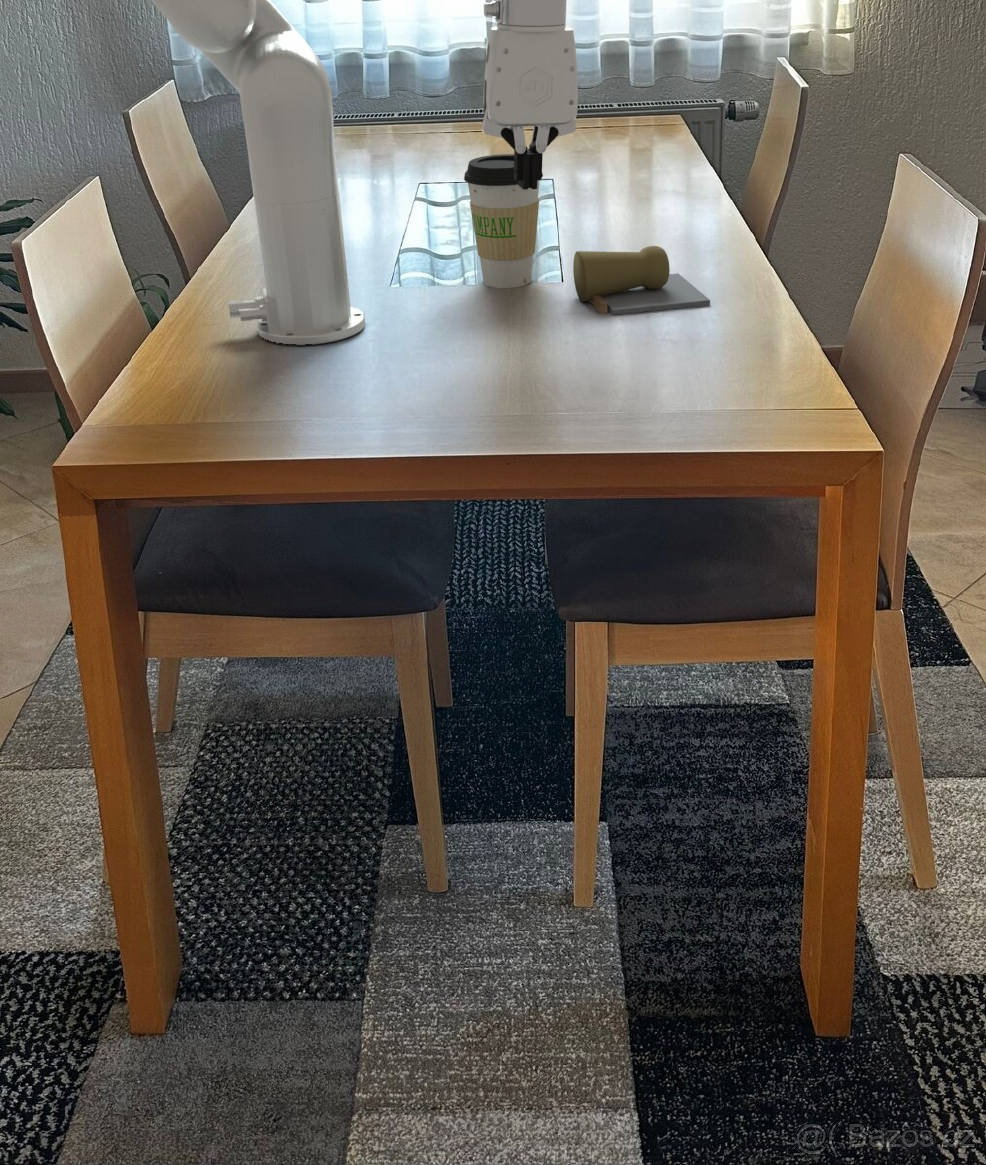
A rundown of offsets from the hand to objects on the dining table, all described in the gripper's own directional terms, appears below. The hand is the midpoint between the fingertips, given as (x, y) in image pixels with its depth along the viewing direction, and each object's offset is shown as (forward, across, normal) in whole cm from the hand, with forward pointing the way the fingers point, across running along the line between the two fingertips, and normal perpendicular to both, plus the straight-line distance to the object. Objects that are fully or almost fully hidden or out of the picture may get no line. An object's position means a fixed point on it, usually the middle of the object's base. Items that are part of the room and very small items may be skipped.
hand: (527, 186), depth 149 cm
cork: (+11, +7, +1) cm, 13 cm away
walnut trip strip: (+14, +8, 0) cm, 16 cm away
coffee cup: (+14, 0, +12) cm, 19 cm away
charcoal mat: (+13, +15, 0) cm, 20 cm away
